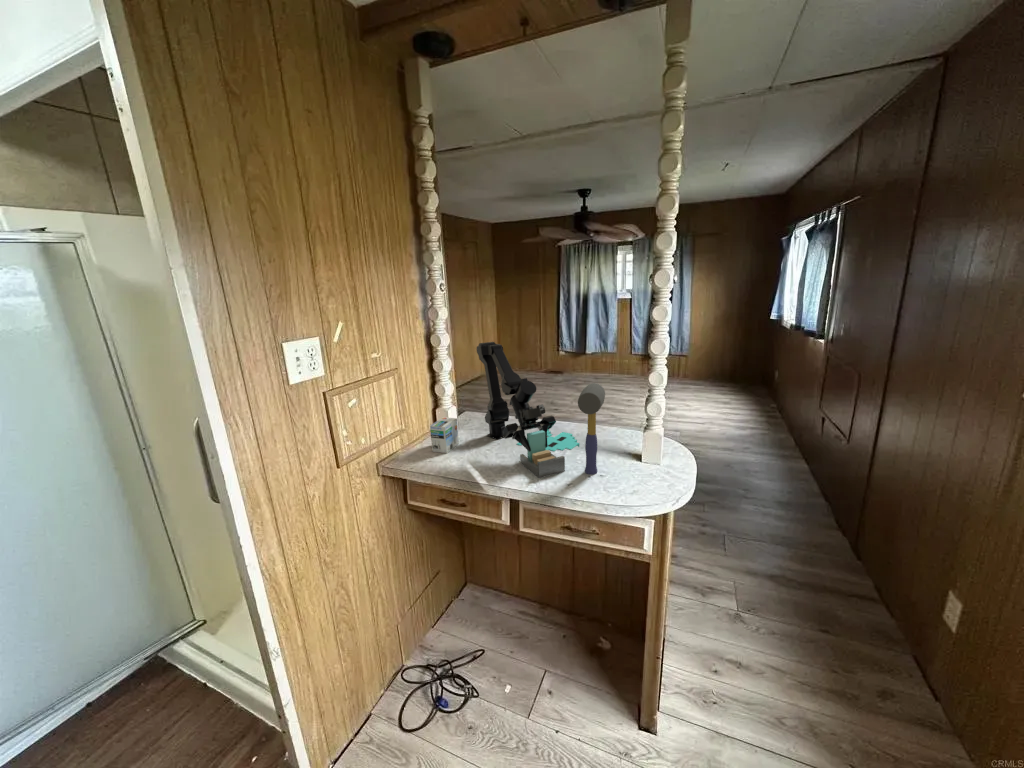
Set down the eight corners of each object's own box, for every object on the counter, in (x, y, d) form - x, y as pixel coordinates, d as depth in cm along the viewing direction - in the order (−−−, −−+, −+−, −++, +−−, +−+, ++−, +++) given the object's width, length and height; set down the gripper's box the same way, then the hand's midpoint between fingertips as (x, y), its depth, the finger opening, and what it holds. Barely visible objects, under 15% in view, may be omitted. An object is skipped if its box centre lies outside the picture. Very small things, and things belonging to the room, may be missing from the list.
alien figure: (516, 449, 151) (561, 461, 140) (516, 443, 151) (561, 455, 139) (544, 432, 167) (587, 442, 155) (544, 427, 166) (587, 437, 154)
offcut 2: (537, 471, 129) (536, 459, 128) (552, 466, 131) (552, 455, 130) (540, 473, 127) (539, 462, 126) (555, 469, 130) (555, 458, 129)
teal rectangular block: (527, 463, 134) (526, 433, 132) (542, 459, 137) (542, 430, 134) (530, 465, 133) (529, 435, 130) (545, 461, 135) (545, 431, 132)
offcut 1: (532, 467, 131) (532, 453, 130) (548, 463, 134) (547, 449, 133) (535, 469, 130) (535, 455, 128) (551, 465, 132) (550, 452, 131)
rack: (518, 465, 137) (518, 448, 135) (543, 459, 141) (543, 442, 139) (538, 482, 124) (538, 463, 123) (565, 475, 129) (565, 456, 127)
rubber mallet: (600, 486, 120) (602, 392, 113) (575, 483, 123) (576, 391, 115) (605, 468, 132) (606, 382, 124) (582, 466, 134) (583, 381, 127)
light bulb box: (447, 453, 149) (444, 427, 146) (431, 452, 151) (428, 425, 148) (459, 443, 159) (457, 417, 156) (444, 441, 161) (442, 416, 158)
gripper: (504, 402, 129) (521, 444, 122) (553, 393, 137) (571, 433, 130) (496, 418, 138) (511, 458, 131) (542, 409, 145) (558, 447, 139)
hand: (538, 449), depth 132 cm, fingers closed on teal rectangular block, 6 cm apart
